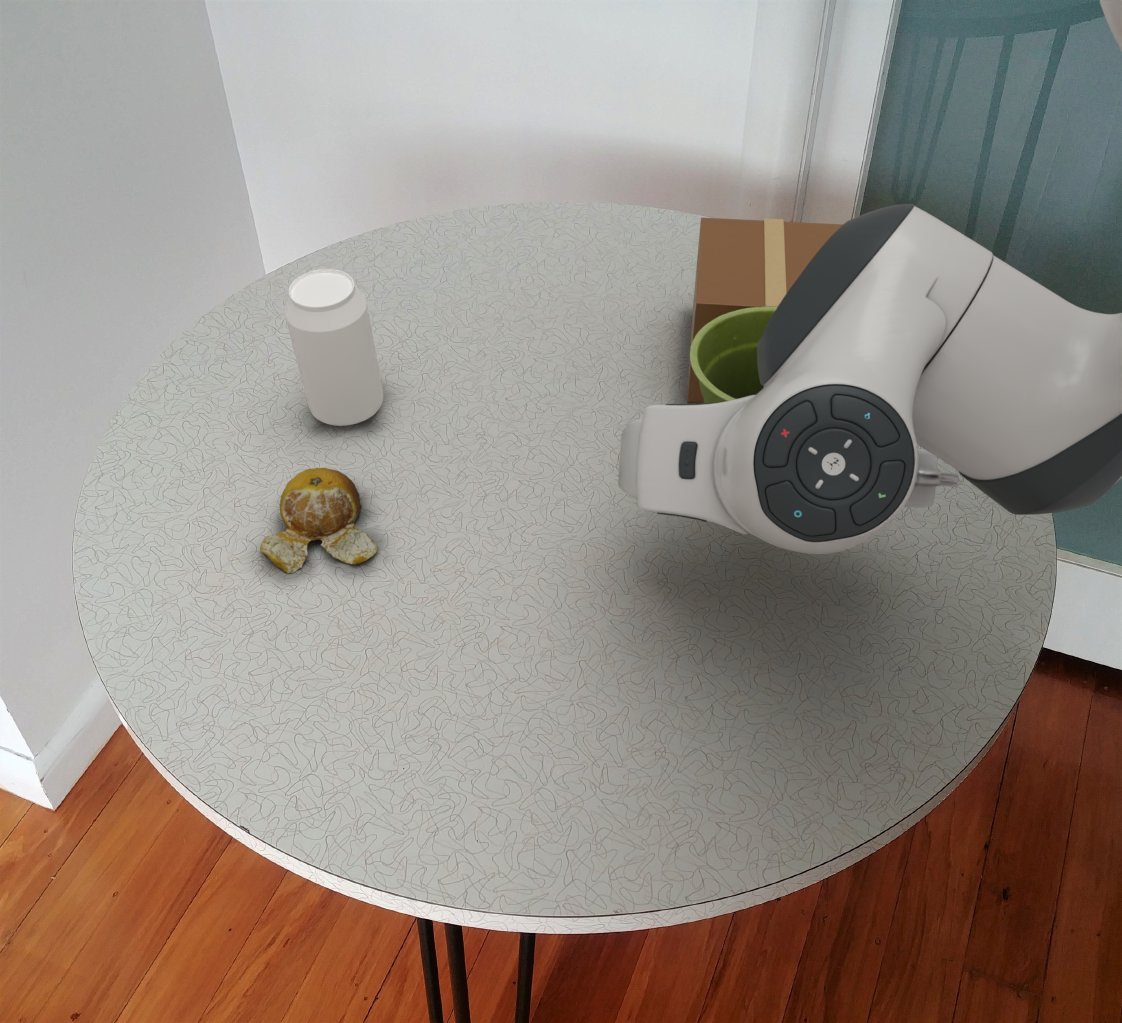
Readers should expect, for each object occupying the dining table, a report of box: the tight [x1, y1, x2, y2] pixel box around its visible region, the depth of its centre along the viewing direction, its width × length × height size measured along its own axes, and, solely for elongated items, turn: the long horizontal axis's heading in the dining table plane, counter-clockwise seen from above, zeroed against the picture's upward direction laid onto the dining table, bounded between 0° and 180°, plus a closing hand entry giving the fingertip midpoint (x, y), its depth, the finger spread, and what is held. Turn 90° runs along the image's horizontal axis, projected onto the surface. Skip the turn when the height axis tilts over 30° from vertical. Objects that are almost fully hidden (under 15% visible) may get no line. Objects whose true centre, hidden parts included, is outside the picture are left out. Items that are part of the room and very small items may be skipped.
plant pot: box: [689, 306, 777, 403], centre depth 78 cm, size 12×12×11 cm
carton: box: [686, 217, 844, 404], centre depth 87 cm, size 12×12×10 cm
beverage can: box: [284, 268, 384, 427], centre depth 84 cm, size 6×6×12 cm
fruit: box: [260, 467, 378, 574], centre depth 78 cm, size 8×8×4 cm
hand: (761, 469), depth 76 cm, fingers closed, pressing on plant pot
